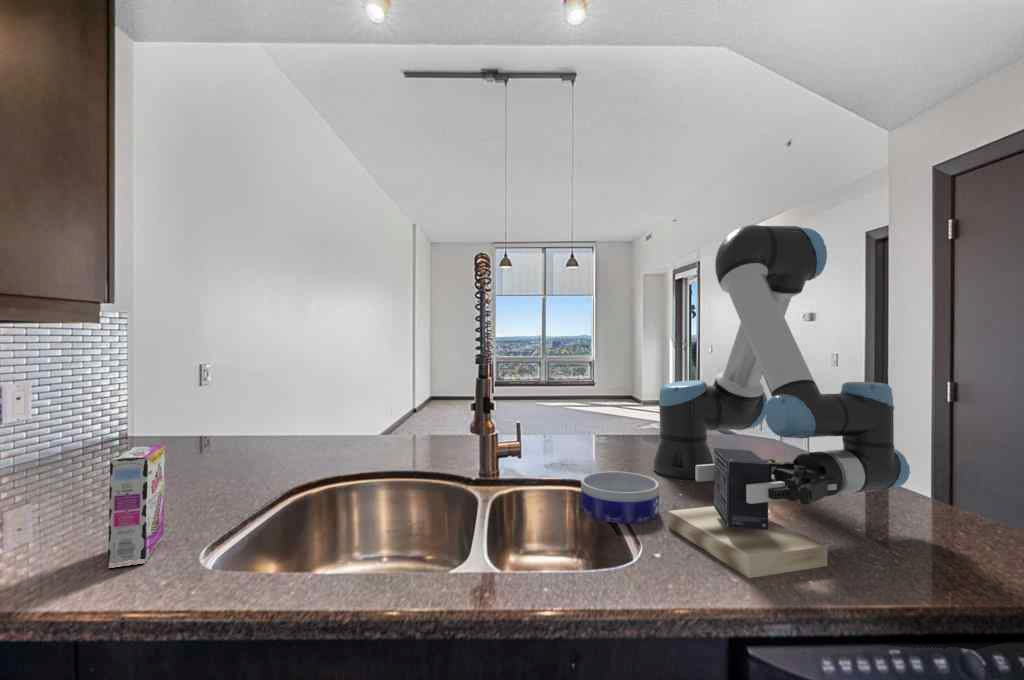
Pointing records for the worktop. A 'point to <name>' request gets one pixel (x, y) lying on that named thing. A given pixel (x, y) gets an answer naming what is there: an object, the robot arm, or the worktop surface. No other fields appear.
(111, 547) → the candy bar box
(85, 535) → the worktop surface
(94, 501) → the worktop surface
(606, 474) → the dog bowl
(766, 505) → the small box
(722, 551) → the maple board
